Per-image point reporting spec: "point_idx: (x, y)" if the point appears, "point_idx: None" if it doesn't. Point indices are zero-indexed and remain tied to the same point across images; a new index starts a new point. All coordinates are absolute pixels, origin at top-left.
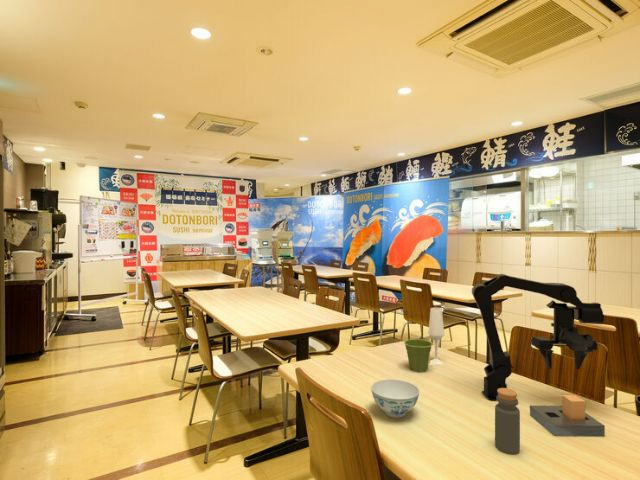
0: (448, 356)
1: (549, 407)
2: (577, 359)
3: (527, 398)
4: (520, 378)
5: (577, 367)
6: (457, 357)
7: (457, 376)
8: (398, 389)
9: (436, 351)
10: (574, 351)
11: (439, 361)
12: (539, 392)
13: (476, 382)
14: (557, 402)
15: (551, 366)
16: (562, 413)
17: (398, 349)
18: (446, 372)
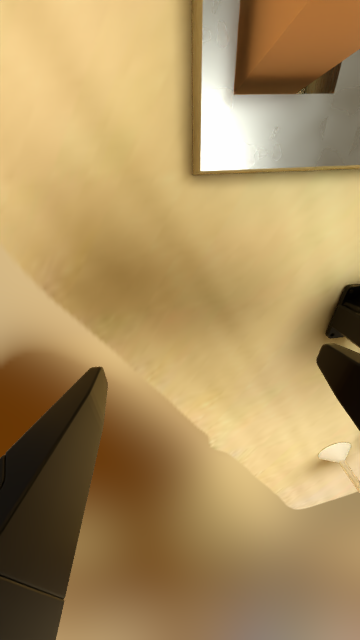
0: (285, 475)
1: (346, 137)
2: (75, 466)
3: (270, 307)
4: (201, 416)
5: (101, 381)
6: (270, 475)
7: None
8: None
9: (357, 480)
10: (57, 608)
11: (336, 453)
12: (204, 349)
13: None
14: (191, 287)
15: (347, 355)
16: (318, 75)
17: None
18: None
